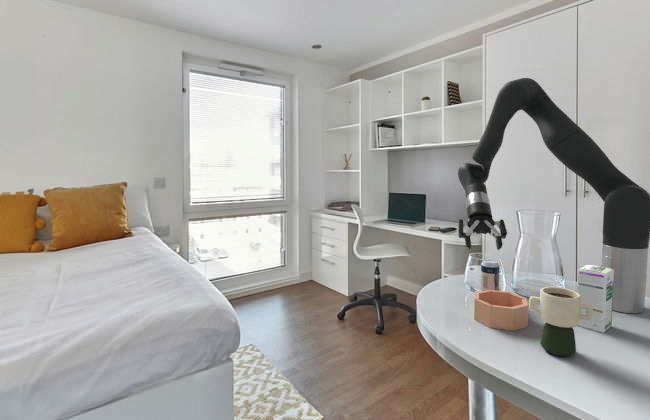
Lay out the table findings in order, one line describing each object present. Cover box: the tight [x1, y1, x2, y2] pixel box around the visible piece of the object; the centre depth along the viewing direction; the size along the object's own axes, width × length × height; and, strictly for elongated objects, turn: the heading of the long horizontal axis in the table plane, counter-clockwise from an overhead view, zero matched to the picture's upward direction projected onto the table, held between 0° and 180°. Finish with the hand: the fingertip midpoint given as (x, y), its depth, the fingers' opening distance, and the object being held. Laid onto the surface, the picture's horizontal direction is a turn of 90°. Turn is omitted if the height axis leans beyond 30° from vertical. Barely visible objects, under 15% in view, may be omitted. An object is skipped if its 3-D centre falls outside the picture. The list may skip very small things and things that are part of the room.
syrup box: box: [576, 264, 614, 334], centre depth 82 cm, size 6×6×14 cm
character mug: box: [528, 286, 593, 357], centre depth 71 cm, size 11×7×13 cm, turn 57°
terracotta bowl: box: [473, 290, 529, 331], centre depth 88 cm, size 12×12×6 cm
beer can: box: [480, 259, 500, 291], centre depth 99 cm, size 5×5×12 cm
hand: (484, 248), depth 107 cm, fingers open, 8 cm apart
